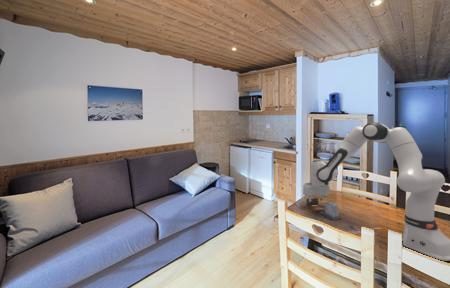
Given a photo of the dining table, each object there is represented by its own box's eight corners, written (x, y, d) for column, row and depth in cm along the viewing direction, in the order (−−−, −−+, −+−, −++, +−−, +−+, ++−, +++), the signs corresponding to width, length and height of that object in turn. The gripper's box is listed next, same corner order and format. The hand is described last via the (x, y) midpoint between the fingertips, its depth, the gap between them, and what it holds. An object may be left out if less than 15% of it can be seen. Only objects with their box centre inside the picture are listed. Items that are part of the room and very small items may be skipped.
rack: (327, 211, 155) (327, 202, 155) (316, 212, 153) (316, 204, 153) (317, 205, 167) (317, 197, 167) (306, 207, 165) (306, 198, 165)
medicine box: (338, 218, 143) (338, 205, 143) (332, 219, 142) (332, 205, 142) (330, 213, 151) (330, 201, 150) (324, 214, 150) (324, 202, 149)
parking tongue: (341, 219, 141) (341, 217, 141) (331, 220, 140) (331, 218, 140) (328, 212, 153) (328, 210, 153) (319, 213, 152) (319, 211, 151)
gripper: (306, 184, 154) (305, 203, 155) (331, 182, 159) (331, 201, 160) (301, 182, 160) (300, 200, 161) (325, 180, 165) (325, 198, 166)
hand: (316, 201), depth 160 cm, fingers open, 8 cm apart
